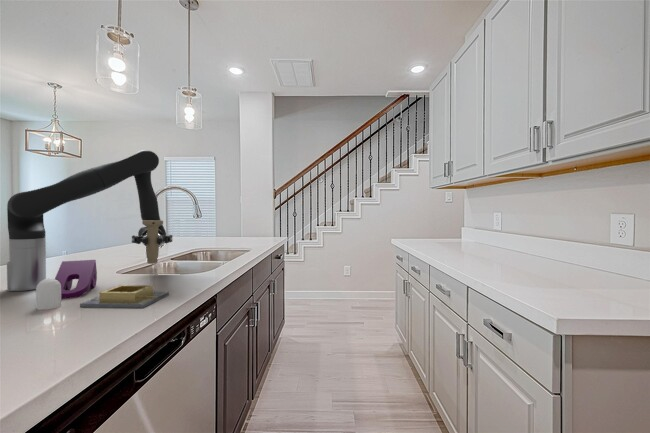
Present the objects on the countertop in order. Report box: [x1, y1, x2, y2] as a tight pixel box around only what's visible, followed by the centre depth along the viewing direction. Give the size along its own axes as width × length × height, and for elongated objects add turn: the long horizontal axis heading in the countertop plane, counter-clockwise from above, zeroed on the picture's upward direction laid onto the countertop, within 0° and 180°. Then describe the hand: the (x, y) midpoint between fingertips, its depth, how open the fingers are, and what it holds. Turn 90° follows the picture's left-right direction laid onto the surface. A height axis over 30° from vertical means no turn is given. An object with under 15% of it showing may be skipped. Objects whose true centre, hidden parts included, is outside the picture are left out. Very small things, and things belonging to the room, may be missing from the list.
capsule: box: [35, 278, 62, 311], centre depth 90 cm, size 5×5×8 cm
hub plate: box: [79, 284, 170, 309], centre depth 96 cm, size 18×14×4 cm
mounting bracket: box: [54, 259, 98, 300], centre depth 106 cm, size 9×8×18 cm
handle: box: [142, 219, 164, 265], centre depth 112 cm, size 5×6×15 cm
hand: (152, 241), depth 110 cm, fingers closed on handle, 3 cm apart
